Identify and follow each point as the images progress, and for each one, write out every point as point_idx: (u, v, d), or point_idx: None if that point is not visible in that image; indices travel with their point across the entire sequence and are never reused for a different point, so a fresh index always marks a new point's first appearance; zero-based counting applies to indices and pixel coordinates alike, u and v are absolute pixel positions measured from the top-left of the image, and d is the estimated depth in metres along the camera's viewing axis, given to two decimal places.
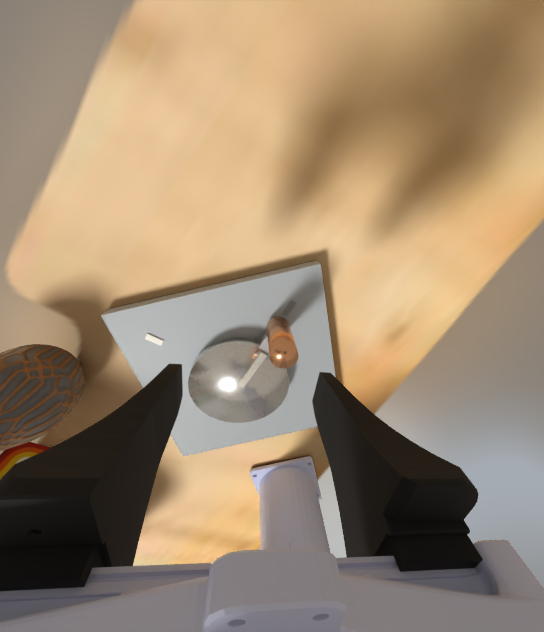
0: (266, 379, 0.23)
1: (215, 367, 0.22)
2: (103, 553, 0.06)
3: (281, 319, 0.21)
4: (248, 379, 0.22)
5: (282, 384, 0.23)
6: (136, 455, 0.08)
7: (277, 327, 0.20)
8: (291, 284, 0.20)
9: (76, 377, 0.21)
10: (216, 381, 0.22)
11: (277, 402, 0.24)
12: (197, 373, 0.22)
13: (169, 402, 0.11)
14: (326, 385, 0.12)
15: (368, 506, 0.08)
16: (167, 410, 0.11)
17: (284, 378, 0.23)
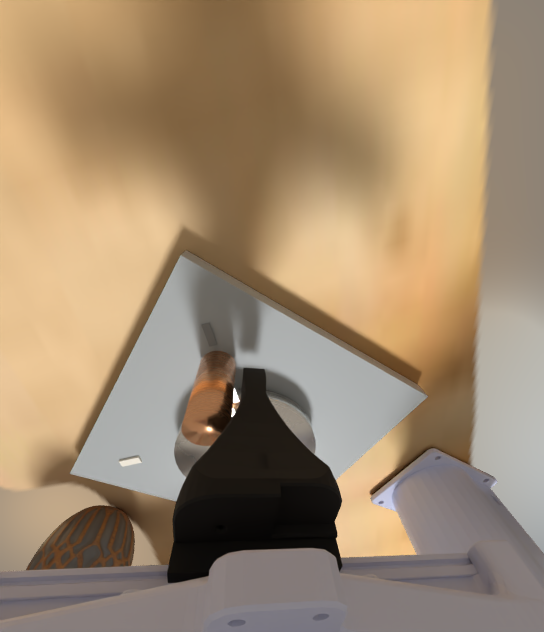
0: None
1: (199, 454, 0.16)
2: None
3: (206, 357, 0.14)
4: None
5: (290, 420, 0.15)
6: None
7: (195, 379, 0.12)
8: (178, 308, 0.13)
9: (105, 535, 0.19)
10: None
11: (308, 440, 0.16)
12: (189, 470, 0.17)
13: None
14: (243, 381, 0.12)
15: None
16: None
17: (285, 413, 0.15)
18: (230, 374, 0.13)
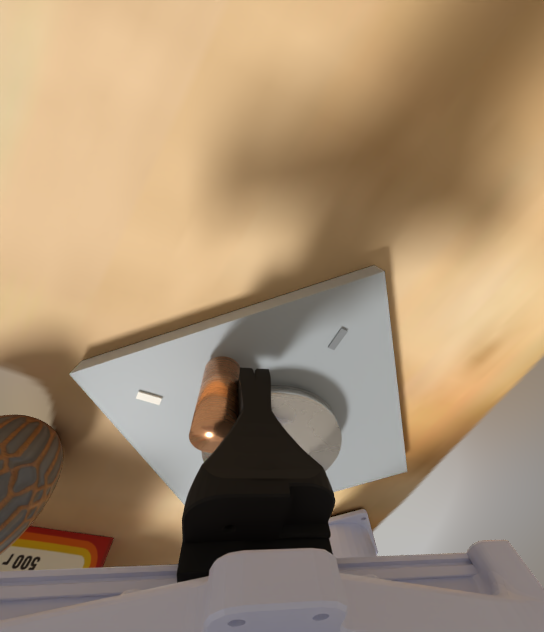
0: (285, 422, 0.15)
1: None
2: None
3: (208, 365, 0.14)
4: None
5: (307, 410, 0.15)
6: None
7: None
8: (340, 304, 0.14)
9: (46, 460, 0.15)
10: None
11: (331, 427, 0.16)
12: None
13: None
14: (239, 381, 0.12)
15: None
16: None
17: (300, 405, 0.15)
18: (232, 377, 0.13)
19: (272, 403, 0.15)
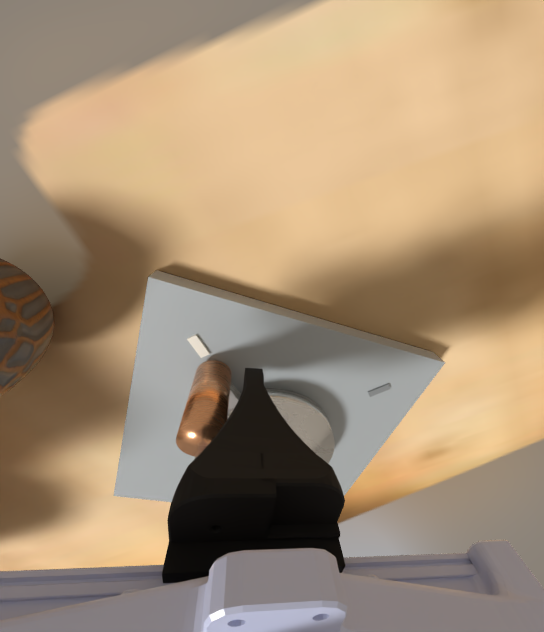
0: None
1: None
2: None
3: (198, 368, 0.14)
4: None
5: (299, 413, 0.15)
6: None
7: (189, 393, 0.13)
8: (402, 366, 0.16)
9: (43, 346, 0.12)
10: None
11: (323, 429, 0.16)
12: None
13: None
14: (245, 381, 0.12)
15: None
16: None
17: (291, 408, 0.15)
18: (222, 381, 0.13)
19: None
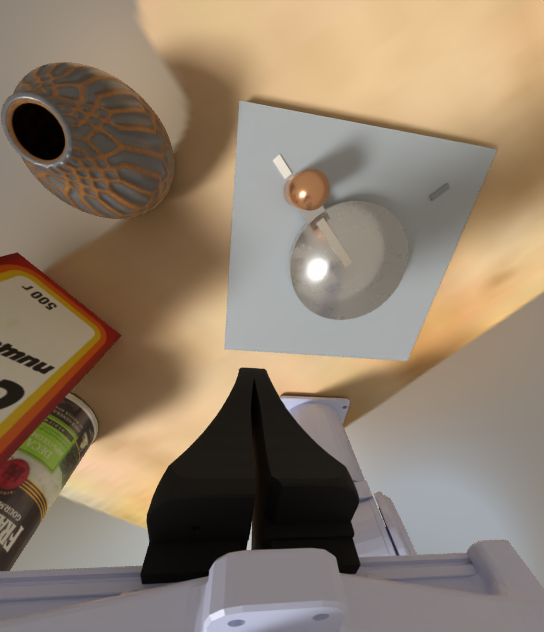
0: (356, 231, 0.18)
1: (312, 281, 0.19)
2: (242, 549, 0.07)
3: (286, 181, 0.17)
4: (344, 252, 0.19)
5: (374, 213, 0.18)
6: None
7: (286, 189, 0.16)
8: (457, 161, 0.18)
9: (173, 169, 0.16)
10: (329, 286, 0.20)
11: (396, 230, 0.18)
12: (310, 301, 0.20)
13: None
14: (254, 381, 0.12)
15: (260, 508, 0.08)
16: None
17: (367, 207, 0.17)
18: None
19: (343, 210, 0.17)
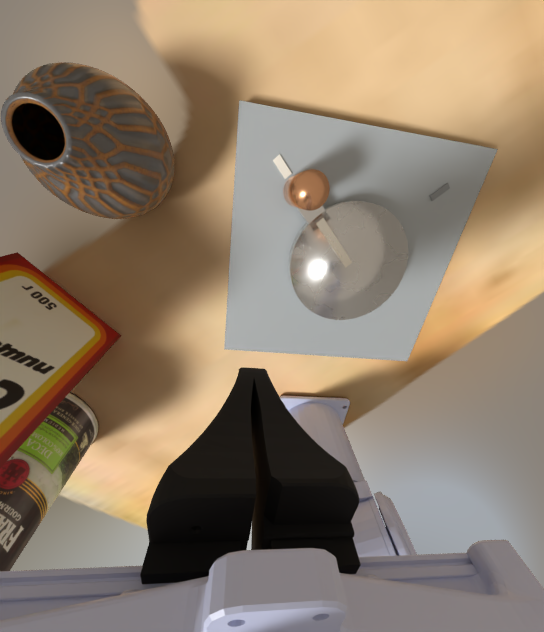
0: (356, 231, 0.18)
1: (312, 281, 0.19)
2: (242, 549, 0.07)
3: (286, 181, 0.17)
4: (344, 252, 0.19)
5: (374, 213, 0.18)
6: None
7: (286, 189, 0.16)
8: (457, 161, 0.18)
9: (173, 169, 0.16)
10: (329, 286, 0.20)
11: (396, 230, 0.18)
12: (310, 301, 0.20)
13: None
14: (254, 381, 0.12)
15: (260, 508, 0.08)
16: None
17: (367, 207, 0.17)
18: None
19: (343, 210, 0.17)
